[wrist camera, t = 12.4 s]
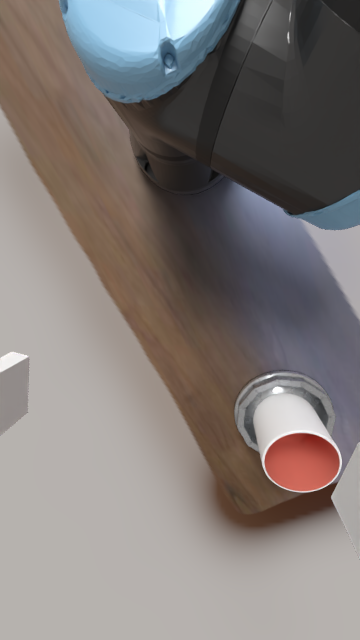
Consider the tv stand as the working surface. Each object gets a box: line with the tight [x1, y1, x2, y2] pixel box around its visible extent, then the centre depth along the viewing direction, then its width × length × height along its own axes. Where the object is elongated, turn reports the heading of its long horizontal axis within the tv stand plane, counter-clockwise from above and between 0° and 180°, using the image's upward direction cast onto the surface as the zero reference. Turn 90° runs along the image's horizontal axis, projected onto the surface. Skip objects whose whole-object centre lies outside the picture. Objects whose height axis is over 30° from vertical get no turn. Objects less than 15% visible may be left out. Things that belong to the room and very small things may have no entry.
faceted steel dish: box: [234, 370, 336, 453], centre depth 43 cm, size 16×16×2 cm
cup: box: [253, 393, 342, 492], centre depth 38 cm, size 10×10×10 cm
